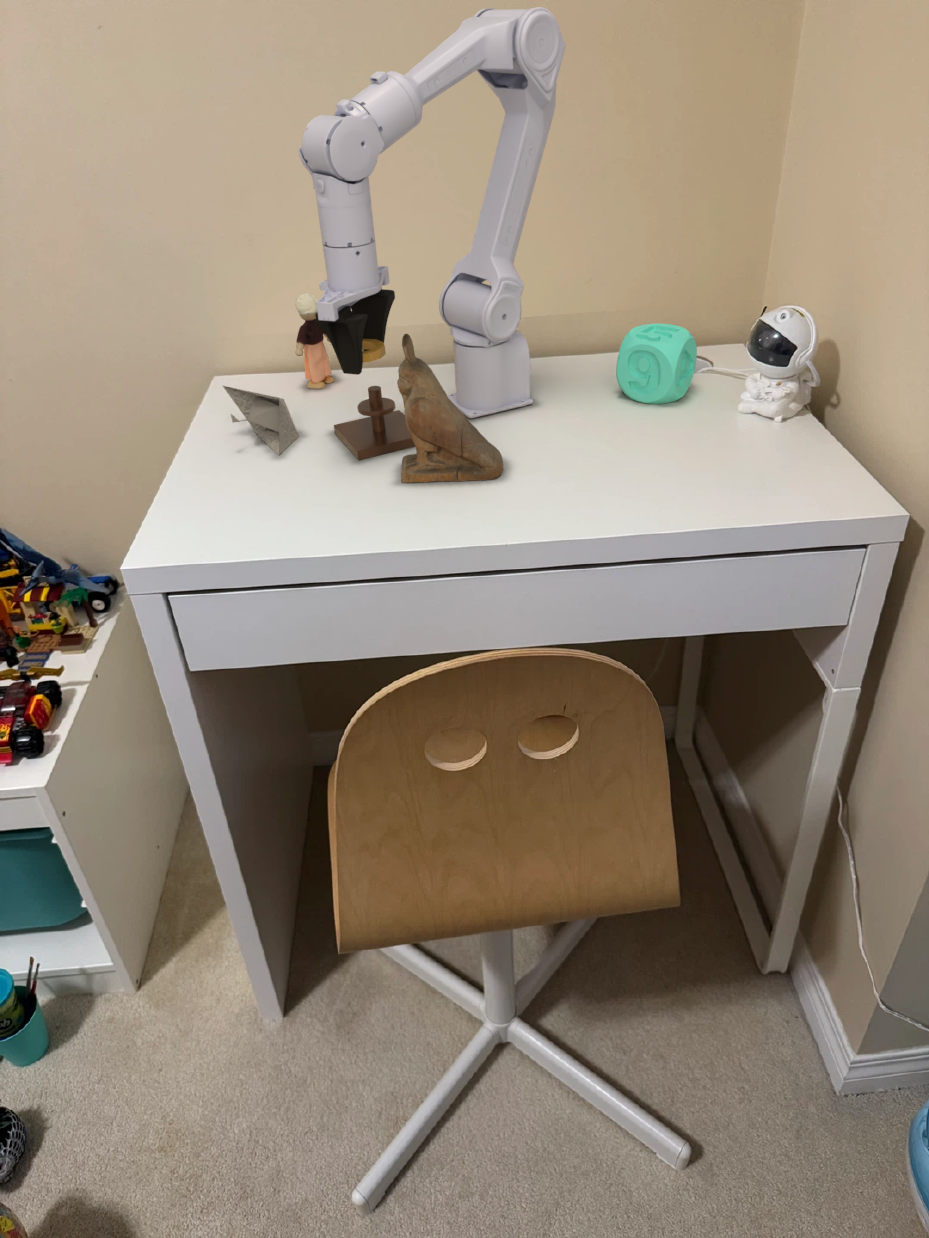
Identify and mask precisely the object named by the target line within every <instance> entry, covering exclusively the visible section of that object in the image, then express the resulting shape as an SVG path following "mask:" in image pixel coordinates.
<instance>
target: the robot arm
mask: <svg viewBox="0 0 929 1238" xmlns="http://www.w3.org/2000/svg"><path fill="white" fill-rule="evenodd" d="M566 47H567V46H566V42H565V39H564V37H563V33H562V32H561V28H560V26H559V23H558V20H557V18H556V17H555V15H554V13H552V12H551V11H550V10H549V9H548V8H546V7H543V6H537V7H532V8H518V9H517V8H512V9H510V8H507V9H496V8H493V7H485V8H481V9H480V10H478V11H477V12H476V13H475V14H474V15H473V16H470V17H468V18H465V19H463V20H462V21H461V23H460V25H459V27H458V29H457V30H455V31H454V32H453V33H452V34H451V35H450V36H448V37H447V38H445V40H443V41H442V42H441V43H440V44H439V45H437V46H436V47H435V48H434V49H433V50H432V51H431V52H429V53H427V55H425V57H424V58H423V59H422V60H420V61H419V62H418V63H417V64H415V65H414V66H413V67H412V68H411V69H410V70H409V71H407V72H406V73H404V74H403V73H400V72H398V71H394V70H389V71H383V70H382V71H380V70H379V71H375V72H374V73H373V74H371V75H370V76H369V81H370V84H369V85H367V86H366V87H365V88H363V89H362V90H361V91H360V92H358V93H357V94H355V95H354V96H352V97H351V98H350V99H345V98H342V99H341V100H339V101H338V102H337V103H336V108H337V109H336V110H335V111H334V114H333V115H332V114H319V115H317V116H315V117H314V118H312V119H311V120H310V121H309V122H308V123H307V124H306V126H305V130H304V131H303V133H302V138H301V146H300V147H298V149H297V152H298V156H299V159H300V161H301V163H302V165H303V167H304V168H305V169H306V170H307V171H308V173H309V175H310V176H311V179H312V183H313V184H312V185H313V189H314V191H315V199H316V207H317V213H318V221H319V222H318V223H319V228H320V237H321V243H322V250H323V257H324V265H325V266H324V267H325V273H326V279H324V280H323V281H321V282H319V283H318V286H319V290H320V291H323V293H322V295H321V297H320V299H318V301H317V302H316V306H317V313H316V314H315V316H316V322H317V324H318V325H319V326H320V327H321V328H322V330H323V331H324V333H325V334H326V336H327V337H328V339H329V341H330V342H329V343H330V344H331V347H332V349H333V351H334V353H335V356H336V358H337V361H338V363H339V366H340V369H341V371H342V373H343V374H345V375H346V374H347V375H356V376H359V375H361V373H362V372H363V365H364V364H363V355H362V351H368V350H366V349H364V350H362V341H363V339H377V340H379V341H382V342H384V343H385V340H386V339H385V338H386V331H387V324H388V319H389V316H390V312H391V309H392V307H393V304H394V301H395V299H396V292H395V290H393V289H383V286H387V285H389V284H390V273H389V266H388V265H378V264H379V263H378V255H377V245H376V236H375V227H374V217H373V216H374V215H373V208H372V207H373V206H372V198H371V197H372V196H371V187H370V178H369V177H371V175H372V174H373V172H374V170H375V168H376V166H377V163H378V159H379V156H380V155H382V154H383V152H385V151H386V150H387V149H389V148H390V147H392V146H393V145H394V144H396V143H397V142H398V141H400V139H403V138H404V136H406V135H407V134H408V133H409V132H411V131H412V130H414V129H415V128H416V127H417V126H419V124H420V123H421V121H422V118H423V108H424V106H426V105H427V104H428V103H429V102H431V101H432V100H434V99H435V98H437V97H438V96H440V95H442V94H443V93H444V92H446V91H447V90H449V89H451V88H452V87H454V86H455V85H457V84H458V83H460V82H461V81H463V80H464V79H465V78H467V77H468V76H470V75H471V74H473V73H474V72H477V73H478V75H479V76H480V77H481V78H482V79H483V81H484V82H485V83H486V84H487V86H488V87H489V88H490V90H491V91H492V93H494V94H495V96H496V97H497V98H498V100H499V102H500V104H501V106H502V108H503V110H504V118H503V121H502V125H501V129H500V133H499V137H498V141H497V145H496V149H495V151H494V152H495V153H494V156H493V160H492V165H491V169H490V172H489V177H488V180H487V184H486V188H485V191H484V197H483V201H482V205H481V209H480V213H479V216H478V220H477V224H476V227H475V232H474V236H473V239H472V243H471V248H470V251H469V252H468V253H467V254H466V255H464V256H463V257H461V258H460V260H458V261H457V262H456V263H455V264H454V265H453V269H452V272H451V275H450V278H449V280H448V281H447V283H446V284H445V285H444V287H443V289H442V290H441V294H440V295H439V296H440V297H439V301H438V310H439V315H440V317H441V319H442V321H443V322H444V324H446V325H447V326H448V327H449V335H450V336H452V344H453V345H452V346H453V347H452V348H453V363H454V378H455V379H454V380H455V381H454V382H455V393H450V394H447V397H448V398H449V399H450V400H451V401H452V402H453V404H454V405H455V406H456V407H457V408H458V409H459V410H460V411H461V412H462V413H463V415H464V416H465V417H466V418H467V419H474V418H479V417H484V416H488V415H492V414H497V413H500V412H504V411H508V410H513V409H516V408H520V407H525V406H529V405H532V404H533V403H534V399H532V398H531V353H530V349H529V345H528V341H527V339H526V337H525V335H524V334H523V333H522V332H521V331H519V330H518V328H519V326H520V323H521V319H522V309H523V308H522V295H523V291H524V287H525V283H524V282H523V279H522V278H521V276H520V274H519V272H518V271H517V269H516V267H515V264H514V263H515V259H516V255H517V251H518V249H519V248H518V247H519V244H520V240H521V236H522V233H523V229H524V225H525V222H526V218H527V215H528V210H529V207H530V203H531V200H532V196H533V193H534V189H535V185H536V181H537V178H538V174H539V170H540V166H541V162H542V159H543V155H544V152H545V148H546V144H547V141H548V137H549V133H550V129H551V125H552V122H553V118H554V116H555V115H554V114H555V110H556V103H557V101H556V99H557V80H558V77H559V73H560V70H561V66H562V62H563V57H564V54H565V51H566ZM486 281H487V282H489V284H490V285H489V284H486V283H484V282H486Z"/></svg>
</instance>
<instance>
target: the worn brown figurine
mask: <svg viewBox="0 0 929 1238" xmlns="http://www.w3.org/2000/svg"><path fill="white" fill-rule="evenodd" d="M401 339H402V340H401V347H402V351H403V355H404V357H405V359H403V361H402V362H401V363H400V364H399V366H398V370H397V372H398V379H397V382H396V383H397V388H398V391H399V393H400V395H401V398H402V403H403V408H404V411H403V412H404V413H403V414H404V415H405V421H406V425H407V428H408V431H409V433H410V435H411V437H412V440H413V442H414V444H415V446H414V447H415V450H416V451H415V452H416V453H413V454H412V453H411V454H406V455H404V456H402V460H401V469H400V470H401V471H400V477H401V479H400V480H401V483H406V484H408V483H409V484H410V483H423V484H424V483H432V482H444V483H445V482H448V483H449V482H457V483H459V482H468V481H470V482H471V481H473V482H475V481H488V480H496V479H498V478H500V476H501V475H502V474H503V471H504V459H503V456H502V453H501V452H500V450H499V449H498V448H497V447H496V446H495V445H494V444H492V443H491V442H489V441H488V439H487V438H485V436H484V435H482V433H481V432H480V431H479V430H478V429H477V428H476V427H475V426H474V424H472V422H471V420H469V418H468V417H467V416H466V415H464V414H463V413H462V412H461V411H460V410H459V409H458V408H457V407H456V406H455V405H454V404H453V402H452V401H451V400H450V399H449V398H448V397H447V395H448V394H447V392H446V391H445V389H444V388H443V386H442V385H441V383H440V381H439V379H438V378H437V376H436V375H435V373H434V371H433V370H432V368H431V367H430V366H429V364H427V362H425V360H423V359H421V358H419V357H417V356H416V353H415V349H414V348H415V347H414V344H413V340H412V337H411V336H410V335H409V333H404V334H403V336H402V338H401Z"/></svg>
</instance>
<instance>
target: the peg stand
mask: <svg viewBox="0 0 929 1238" xmlns="http://www.w3.org/2000/svg"><path fill="white" fill-rule="evenodd" d="M367 394H368V398H367V399H363V400H362V401H360V402H359V403H358V404H357V412H358V413H359V415H362V416H365V417H363V418H358V419H354V420H348V421H345V422H340V423H337V424H333V430H334V435H335V436H336V437H337V438H338V439H339V440H340V441H341V442H342V443H343V444H344V446H345V447H346V448H347V449H348V450H349V451H350V452H351V454H352V455H353V456H354V458H356V460H357V461H361V460H365V459H369V458H374V457H378V456H382V455H385V454H389V453H394V452H399V451H402V450H405V449H410V448H415V447H416V446H415V444H414V442H413V440H412V437H411V435H410V433H409V431H408V428H407V425H406V421H405V413H403V412H402V411H401V410H400V409H397V410H396V402H395V400H393V399H391V398H389V397H388V398H387V397H383V395H382V387H381V386H380V385H371V386H368V388H367Z"/></svg>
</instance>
